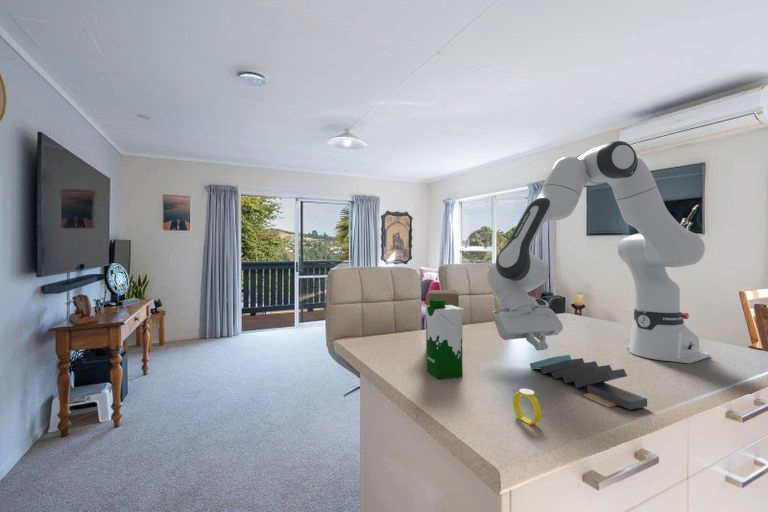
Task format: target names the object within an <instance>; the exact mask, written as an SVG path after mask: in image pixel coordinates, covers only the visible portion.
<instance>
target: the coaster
mask: <svg viewBox="0 0 768 512" xmlns="http://www.w3.org/2000/svg"><path fill="white" fill-rule="evenodd" d="M583 397H584V398H586V399H589V400H590V401H594V402H596V403H597V404H600V405H601V406H605V407H607V408H611V407H617V406H619V405H617V404H615V403H613V402H610V401H608V400H606V399H603V398H601V397H599V396H596V395H594V394H592V393H589V392H587V393H585V394H583Z"/></svg>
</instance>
